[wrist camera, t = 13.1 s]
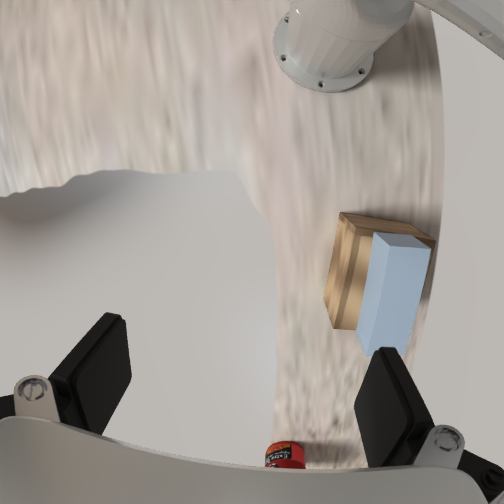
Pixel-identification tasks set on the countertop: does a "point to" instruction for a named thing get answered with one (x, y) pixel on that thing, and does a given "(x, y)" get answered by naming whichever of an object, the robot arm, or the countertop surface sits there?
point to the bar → (392, 291)
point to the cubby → (358, 264)
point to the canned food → (285, 456)
